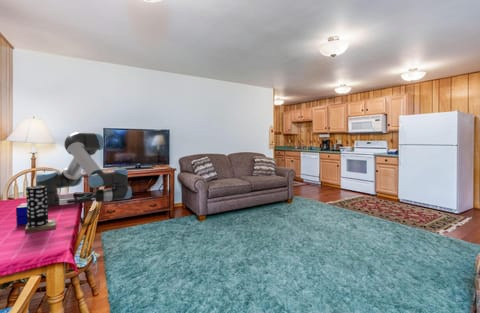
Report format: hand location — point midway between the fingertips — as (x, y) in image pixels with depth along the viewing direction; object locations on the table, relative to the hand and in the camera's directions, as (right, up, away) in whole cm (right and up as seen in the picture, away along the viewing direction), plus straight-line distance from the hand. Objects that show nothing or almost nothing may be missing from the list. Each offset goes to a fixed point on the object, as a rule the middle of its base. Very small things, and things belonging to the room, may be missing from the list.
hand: (59, 199), depth 131 cm
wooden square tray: (-7, -14, -4) cm, 16 cm away
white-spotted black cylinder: (-7, -12, -6) cm, 15 cm away
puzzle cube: (-19, -14, +4) cm, 24 cm away
